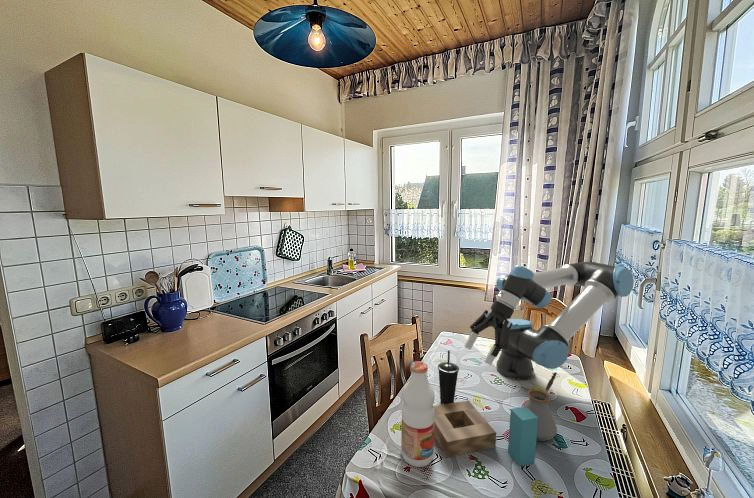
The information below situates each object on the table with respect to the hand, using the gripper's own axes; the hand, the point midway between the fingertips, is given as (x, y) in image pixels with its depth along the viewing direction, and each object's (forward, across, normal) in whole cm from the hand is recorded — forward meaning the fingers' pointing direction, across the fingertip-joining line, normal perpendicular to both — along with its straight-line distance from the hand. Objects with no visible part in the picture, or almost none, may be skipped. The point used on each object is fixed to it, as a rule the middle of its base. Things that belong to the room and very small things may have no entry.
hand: (476, 355), depth 113 cm
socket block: (+23, +13, -2) cm, 27 cm away
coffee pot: (+8, +15, +23) cm, 29 cm away
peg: (+17, +25, +10) cm, 32 cm away
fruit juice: (+32, +18, -15) cm, 40 cm away
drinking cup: (+21, -4, +1) cm, 21 cm away
